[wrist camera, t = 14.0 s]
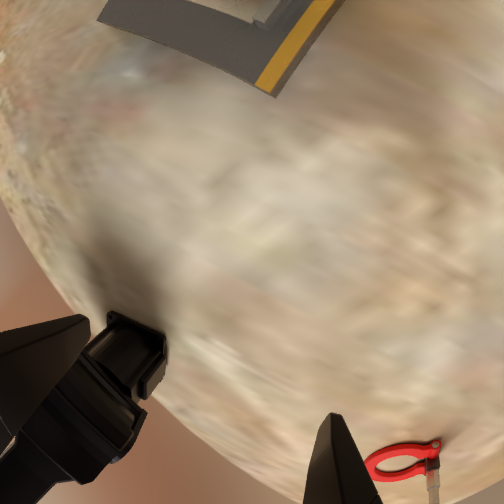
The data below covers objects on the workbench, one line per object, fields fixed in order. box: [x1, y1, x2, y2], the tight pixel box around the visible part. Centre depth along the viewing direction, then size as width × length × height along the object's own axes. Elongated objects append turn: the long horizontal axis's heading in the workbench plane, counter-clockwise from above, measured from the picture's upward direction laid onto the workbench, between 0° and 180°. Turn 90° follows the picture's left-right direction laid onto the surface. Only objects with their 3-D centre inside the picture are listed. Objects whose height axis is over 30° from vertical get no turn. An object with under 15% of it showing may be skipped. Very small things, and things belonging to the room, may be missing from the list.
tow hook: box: [364, 440, 441, 504], centre depth 20 cm, size 8×13×9 cm
